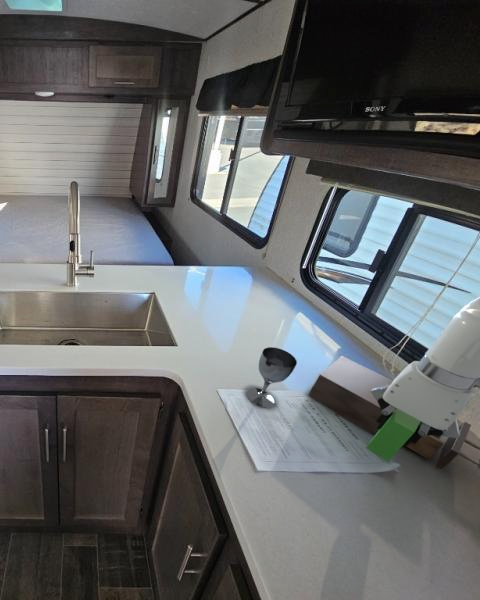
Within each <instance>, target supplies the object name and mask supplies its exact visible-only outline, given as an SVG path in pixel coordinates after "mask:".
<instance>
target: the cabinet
mask: <svg viewBox="0 0 480 600" xmlns="http://www.w3.org/2000/svg"><path fill="white" fill-rule="evenodd" d="M393 381H394V380H392V379H390V378H388V377H386V376H384V375H382V374H380V373H377V372H375V371H373V370H372V369H369V368H367V367H366V366H364V365H361V364H359V363H357V362H355V361H353V360H352V359H349V358H347V357H346V356H343V355H340V357H338V358H337V359H336V360H335V361H334V362H332V363H331V364H330V365H329V366H328V367H326V369H324V370H323V371H322V372H321V373H319V375H318V377H317V379H316V381H315V382H314V384H313V386H312V387H311V389H310V391H309V393H307V394H308V395H307V396H309V397H310V398H312V399H314V400H315V401H317V402H318V403H320V404H322V405H324V406H325V407H327V408H329V409H330V410H332V411H334V412H335V413H337V414H339V415H340V416H342V417H343V418H344V419H347V420H348V421H350V422H351V423H353V424H355V425H357V426H358V427H360V428H361V429H363V430H365V431H366V432H368V433H369V434H371V435H372V436H373V435H374V436H375V434H376V433H377V432H378V431H379V430H378V429H377V426H378V425H379V423H378V422H376V420H377V419H378V418H379V417H380V415H381V414H382V412H381V411H382V410H381V408H380V406H379V404H378V402H377V399H375V397H374V396H373V395H372V394H371V390H372V389H373V388H377V387H381V386H386V385H390V384H391V383H392V382H393ZM383 395H384V394H383Z"/></svg>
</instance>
